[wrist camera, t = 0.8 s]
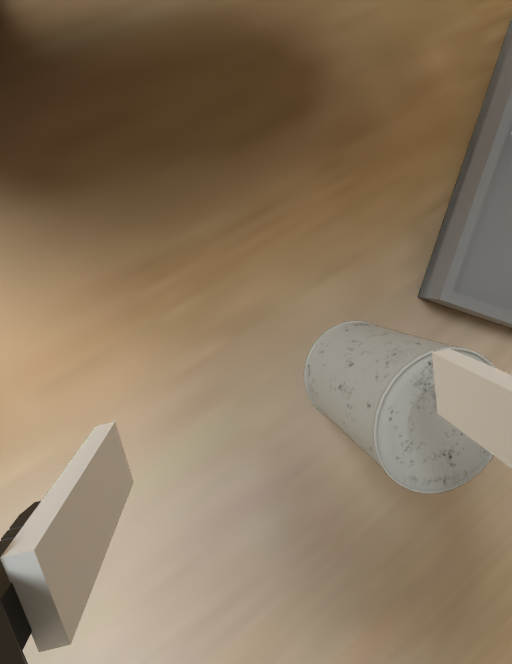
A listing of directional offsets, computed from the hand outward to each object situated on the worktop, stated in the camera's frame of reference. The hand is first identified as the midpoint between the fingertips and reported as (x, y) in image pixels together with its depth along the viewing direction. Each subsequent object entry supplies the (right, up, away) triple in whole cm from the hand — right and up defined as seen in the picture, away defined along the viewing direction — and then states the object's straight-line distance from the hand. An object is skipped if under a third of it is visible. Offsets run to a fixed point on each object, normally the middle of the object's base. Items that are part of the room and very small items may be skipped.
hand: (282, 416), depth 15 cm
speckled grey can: (+8, 0, +20) cm, 22 cm away
